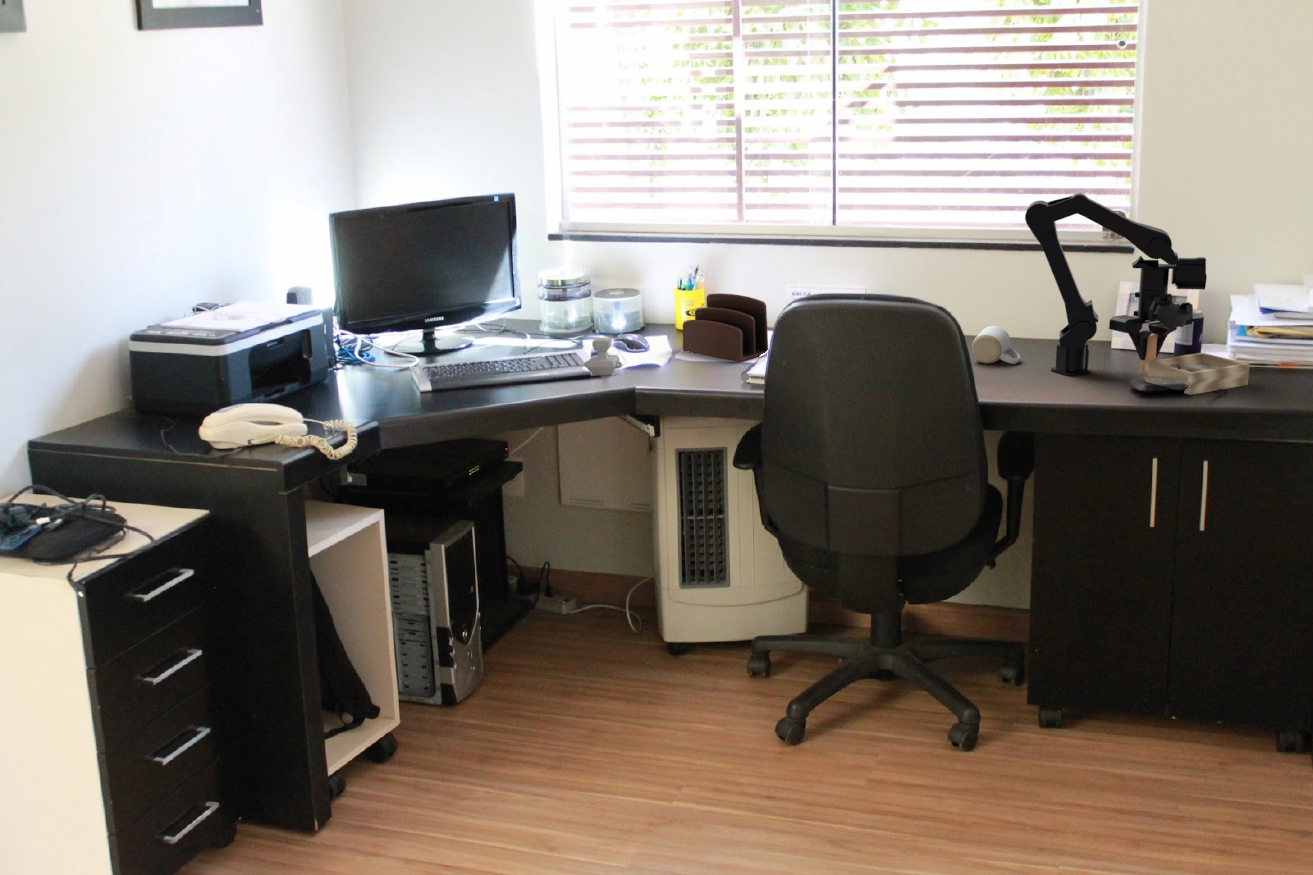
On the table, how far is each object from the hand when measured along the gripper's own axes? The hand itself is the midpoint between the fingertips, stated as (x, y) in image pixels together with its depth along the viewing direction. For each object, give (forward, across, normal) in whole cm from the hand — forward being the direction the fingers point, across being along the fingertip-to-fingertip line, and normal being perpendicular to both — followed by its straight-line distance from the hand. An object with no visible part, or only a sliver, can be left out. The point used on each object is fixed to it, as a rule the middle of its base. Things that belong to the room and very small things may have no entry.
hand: (1148, 359), depth 289 cm
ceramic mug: (+4, -19, +28) cm, 34 cm away
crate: (+4, +3, -11) cm, 12 cm away
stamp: (+4, -103, +65) cm, 122 cm away
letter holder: (+4, -69, +69) cm, 98 cm away
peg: (+3, 0, 0) cm, 3 cm away
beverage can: (+4, +15, +4) cm, 16 cm away
